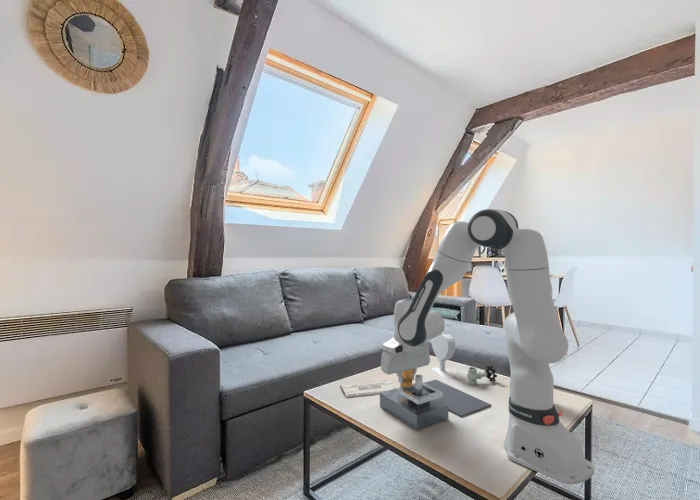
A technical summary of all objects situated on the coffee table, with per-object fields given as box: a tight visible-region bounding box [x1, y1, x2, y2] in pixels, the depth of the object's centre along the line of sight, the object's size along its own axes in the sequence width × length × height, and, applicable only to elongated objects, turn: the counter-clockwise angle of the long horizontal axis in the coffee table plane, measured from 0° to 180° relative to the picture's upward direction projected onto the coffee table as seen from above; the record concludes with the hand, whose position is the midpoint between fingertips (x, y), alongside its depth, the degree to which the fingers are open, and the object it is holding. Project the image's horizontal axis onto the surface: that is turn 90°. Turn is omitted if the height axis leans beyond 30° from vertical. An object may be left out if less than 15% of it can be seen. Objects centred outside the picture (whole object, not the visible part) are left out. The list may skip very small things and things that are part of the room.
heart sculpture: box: [430, 331, 456, 379], centre depth 167 cm, size 16×5×18 cm, turn 15°
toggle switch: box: [379, 374, 449, 431], centre depth 128 cm, size 20×14×14 cm
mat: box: [422, 379, 492, 418], centre depth 141 cm, size 28×16×1 cm, turn 31°
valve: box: [466, 365, 498, 386], centre depth 155 cm, size 7×7×12 cm
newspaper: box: [339, 379, 398, 399], centre depth 148 cm, size 23×12×2 cm, turn 104°
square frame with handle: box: [397, 369, 443, 405], centre depth 126 cm, size 14×11×7 cm
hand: (406, 381), depth 131 cm, fingers closed on square frame with handle, 3 cm apart
